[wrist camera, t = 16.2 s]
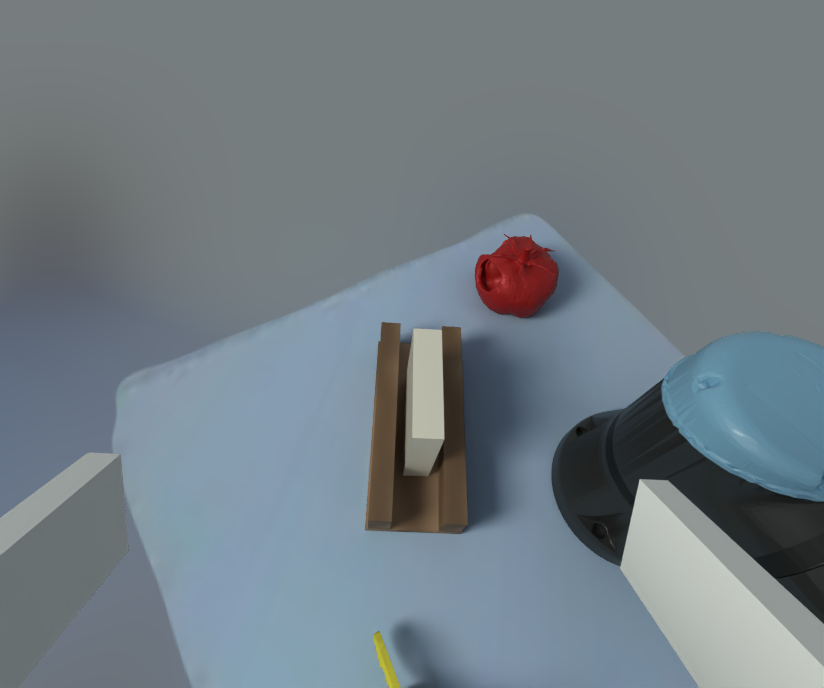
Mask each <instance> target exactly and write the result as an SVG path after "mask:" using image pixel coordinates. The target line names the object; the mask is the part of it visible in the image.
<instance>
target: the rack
mask: <svg viewBox="0 0 824 688" xmlns="http://www.w3.org/2000/svg"><path fill="white" fill-rule="evenodd" d="M400 325H401V324H400V323H385V322H382V327H381V341H380V342H379V344H378V357H377V371H376V385H375V399H374V413H373V427H372V441H371V455H370V468H369V482H368V496H367V510H366V524H365V530H372V531H397V532H422V533H447V534H461V533H462V530H463V529H464V528H465V527H466V526H467V525H468V513H467V485H466V457H465V428H464V400H463V372H462V344H461V328H460V327H445V326H442V359H443V400H444V441H443V444H442V446H441V448H440V451H439V453H438V455H437V457H436V460H435V462H434V464H433V467H432V469H431V471H430V474H429V476H403V443H404V400H405V379H406V373H407V367H408V360H409V354H410V348H411V343H400Z"/></svg>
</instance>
